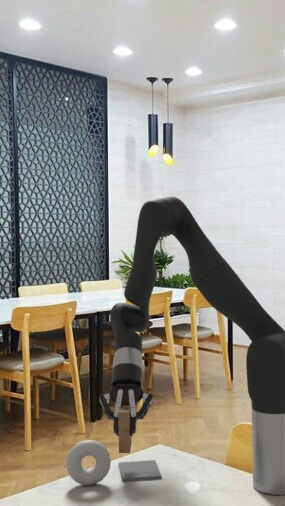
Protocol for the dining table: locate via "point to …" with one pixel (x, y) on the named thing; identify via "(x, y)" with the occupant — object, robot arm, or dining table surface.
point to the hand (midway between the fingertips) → (124, 434)
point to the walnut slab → (124, 429)
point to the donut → (87, 475)
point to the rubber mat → (139, 470)
